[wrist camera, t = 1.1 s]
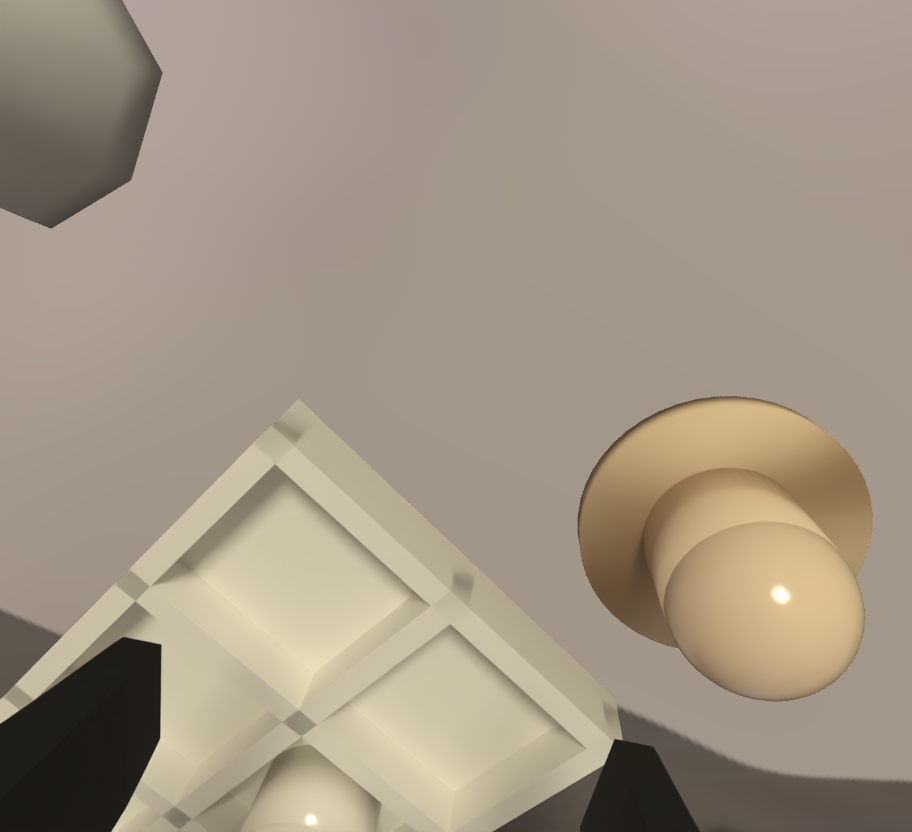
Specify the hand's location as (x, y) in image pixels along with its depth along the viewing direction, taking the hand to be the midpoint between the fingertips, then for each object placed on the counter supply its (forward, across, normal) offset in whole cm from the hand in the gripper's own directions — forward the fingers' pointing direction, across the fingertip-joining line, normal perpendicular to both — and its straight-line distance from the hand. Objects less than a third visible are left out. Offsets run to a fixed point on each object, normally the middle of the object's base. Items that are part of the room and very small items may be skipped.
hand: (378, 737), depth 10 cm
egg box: (+10, +5, +12) cm, 16 cm away
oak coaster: (+10, -8, 0) cm, 13 cm away
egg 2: (+9, -8, 0) cm, 12 cm away
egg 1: (+9, +2, +14) cm, 16 cm away
